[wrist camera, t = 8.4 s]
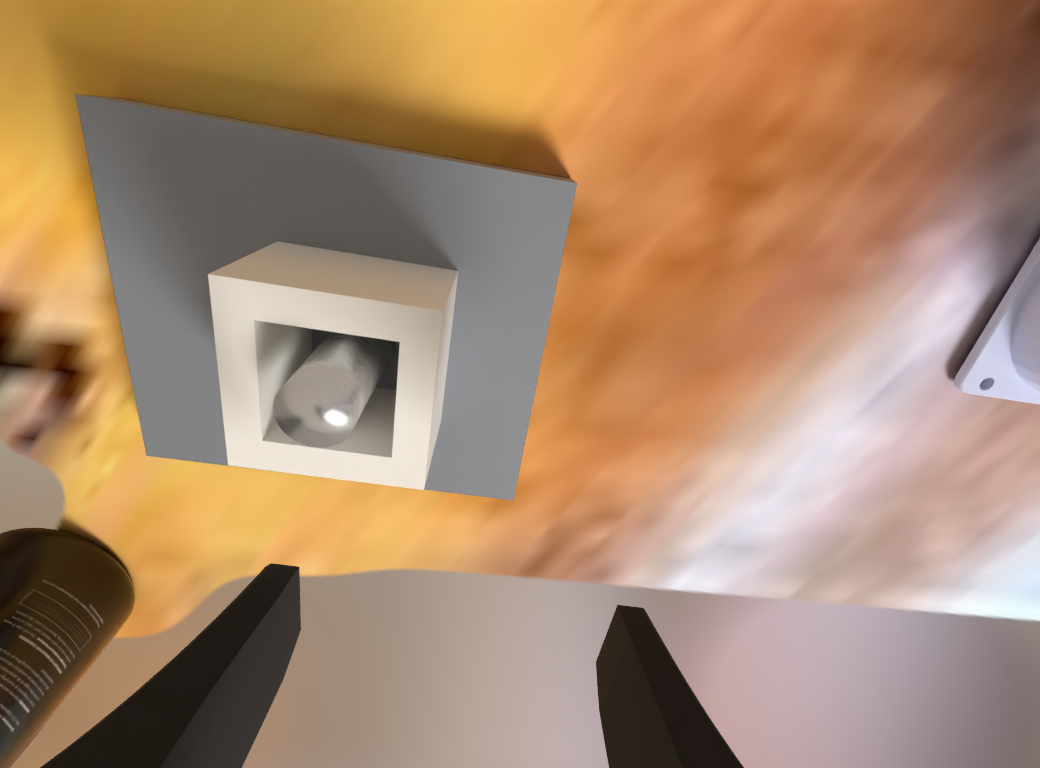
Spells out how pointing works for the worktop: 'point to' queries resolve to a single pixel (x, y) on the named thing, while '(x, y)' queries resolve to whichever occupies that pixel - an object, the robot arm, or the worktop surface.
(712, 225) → the worktop surface
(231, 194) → the shaft board
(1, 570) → the supplement bottle
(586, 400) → the worktop surface
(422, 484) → the collar
